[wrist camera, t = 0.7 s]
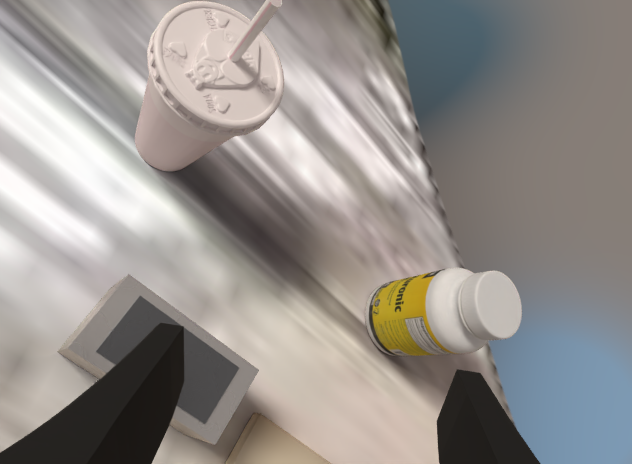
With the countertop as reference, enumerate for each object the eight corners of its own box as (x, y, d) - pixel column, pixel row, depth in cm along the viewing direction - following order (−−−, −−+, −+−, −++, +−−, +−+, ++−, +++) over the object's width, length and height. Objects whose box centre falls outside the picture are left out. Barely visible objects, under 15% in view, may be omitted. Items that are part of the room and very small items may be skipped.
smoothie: (234, 158, 33) (361, 43, 21) (160, 213, 29) (263, 111, 18) (171, 78, 32) (268, -89, 20) (85, 125, 28) (144, -45, 17)
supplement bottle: (393, 269, 38) (499, 242, 30) (429, 327, 38) (542, 316, 30) (349, 309, 35) (454, 291, 27) (388, 372, 35) (502, 372, 27)
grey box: (182, 433, 27) (216, 445, 23) (56, 351, 25) (67, 348, 21) (222, 370, 29) (259, 370, 25) (109, 288, 27) (129, 273, 23)
